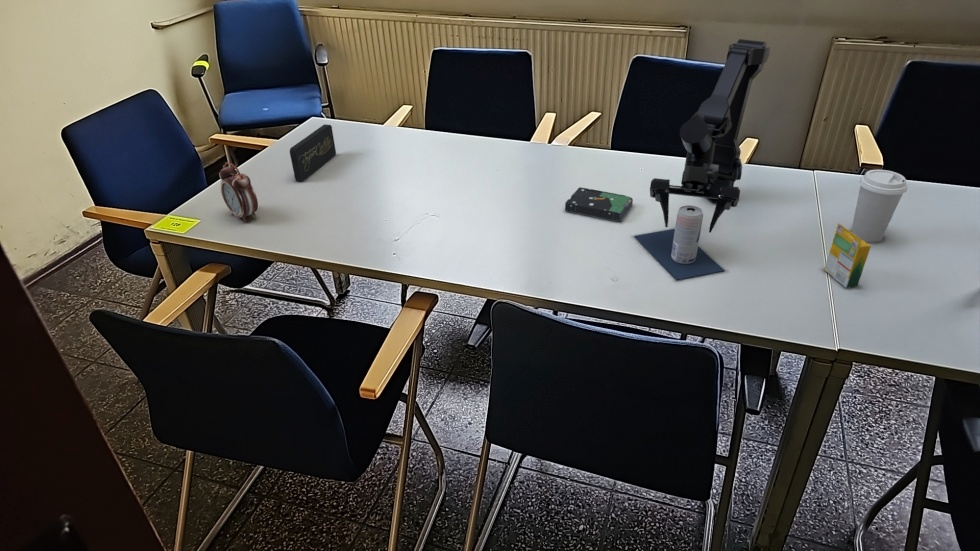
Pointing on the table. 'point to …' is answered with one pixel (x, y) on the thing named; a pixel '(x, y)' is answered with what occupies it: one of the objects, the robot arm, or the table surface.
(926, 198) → the table surface
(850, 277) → the crayon box
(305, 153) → the nameplate
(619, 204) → the disk drive
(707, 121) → the robot arm
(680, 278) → the mat
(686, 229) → the energy drink
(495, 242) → the table surface
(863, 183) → the coffee cup
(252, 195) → the alarm clock
